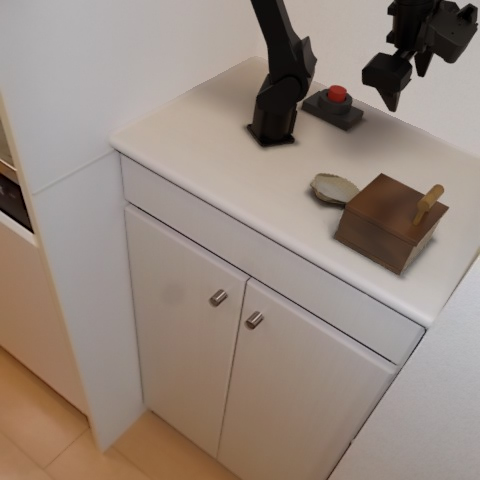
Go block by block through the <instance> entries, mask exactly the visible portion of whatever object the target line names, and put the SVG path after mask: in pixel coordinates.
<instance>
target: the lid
mask: <svg viewBox="0 0 480 480" xmlns="http://www.w3.org/2000/svg"><path fill="white" fill-rule="evenodd" d="M359 191H360V192H359V193H358V194H357V195H356V196H355V197H353V198H352V199H351V200H350V201H349V202H348V203H347V204H345V206H344V209H347V210H349V211H350V212H352V213H354V214H356V215H358V216H360V217H361V218H363V219H365V220H367V221H369V222H371V223H372V224H374V225H376V226H378V227H380V228H382V229H383V230H385V231H387V232H389V233H391V234H393V235H395V236H396V237H398V238H400V239H402V240H404V241H406V242H407V243H409V244H411V245H413V246H415V247H417V246H418V245H419V244H420V243H421V241H422V240H423V239H424V238H425V237H426V236H427V234H428V233H429V232H430V231H431V230H432V229H433V227H434V226H435V225H436V224H437V223H438V222H439V223H440V221H441V220H440V219H442V218H443V217H444V216H445V215H446V214H447V212H448V211H449V209H450V206H449V205H446V204H444V203H443V202H440V201H438V200H440V198H441V197H442V196H443V195H444V193H445V187H444V186H443V185H442V184H438V183H436V184H435V185H433V186H432V187H431V188H430V190H429V189H428V191H427V192H426V193H422V192H420V191H419V190H416V189H414V188H413V187H411V186H409V185H407V184H404V183H403V182H401V181H398V180H397V179H395V178H393V177H391V176H389V175H388V174H385V173H382V172H381V173H379V174H378V175H377V176H376V177H375V178H374V179H372V180H371V181H370V182H369V183H368V184H367V185H366V186H364V188H363V189H361V190H359ZM439 220H440V221H439ZM439 223H438V224H439Z"/></svg>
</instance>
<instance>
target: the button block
mask: <svg viewBox="0 0 480 480" xmlns="http://www.w3.org/2000/svg"><path fill="white" fill-rule="evenodd" d="M329 88H330V87H329ZM329 88H323V89H322V90H318V91H316V92H315V93H313V94H311V95H310V96H308V97H305V98H304V99H303V100H302V101H301V102H302V103H301V107H300V110H302V111H304V112H305V113H308V114H311V115H312V116H314V117H317V118H318V119H320V120H322V121H324V122H327V123H329V124H331V125H333V126H335V127H337V128H340V129H341V130H344V131H345V132H347V131H349V130H350V129H351V128H353V127H354V126H355V125H357V124H358V123H360V122H361V121H362V120H363V117H364V114H365V111H364V110H363V109H360V108H359V107H356V106H354V105H353V102H354V101H353V96H352V95H351V94H350V93H348V92H347V93H346V96H345V100H344V101H343V102H336V101H332V100H330V99H329V98H328V97H327V96H328V92H329Z"/></svg>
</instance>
